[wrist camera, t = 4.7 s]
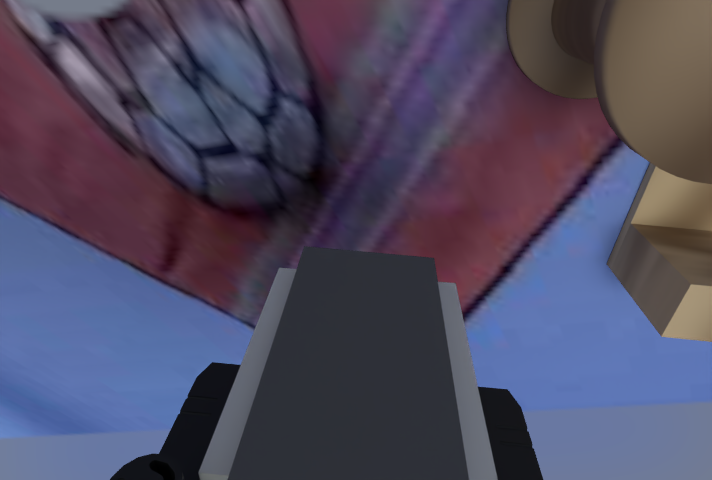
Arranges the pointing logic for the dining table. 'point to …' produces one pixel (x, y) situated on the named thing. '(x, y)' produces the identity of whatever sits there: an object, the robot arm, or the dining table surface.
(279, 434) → the gray block with knob
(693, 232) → the wooden u-shaped block
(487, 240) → the dining table surface
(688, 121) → the bobbin
